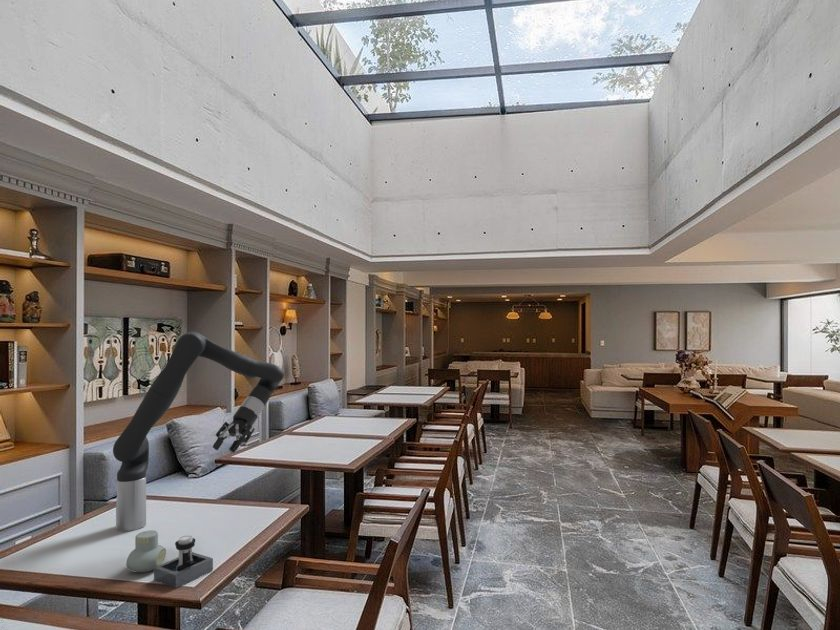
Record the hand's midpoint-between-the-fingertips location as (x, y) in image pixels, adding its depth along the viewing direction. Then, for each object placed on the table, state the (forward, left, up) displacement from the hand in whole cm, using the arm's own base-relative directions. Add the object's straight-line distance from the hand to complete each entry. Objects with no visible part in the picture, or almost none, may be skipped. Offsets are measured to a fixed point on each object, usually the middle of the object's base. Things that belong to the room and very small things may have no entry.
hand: (223, 450), depth 178 cm
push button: (+14, -25, -29) cm, 41 cm away
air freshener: (+1, -28, -29) cm, 40 cm away
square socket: (+15, -26, -29) cm, 41 cm away
